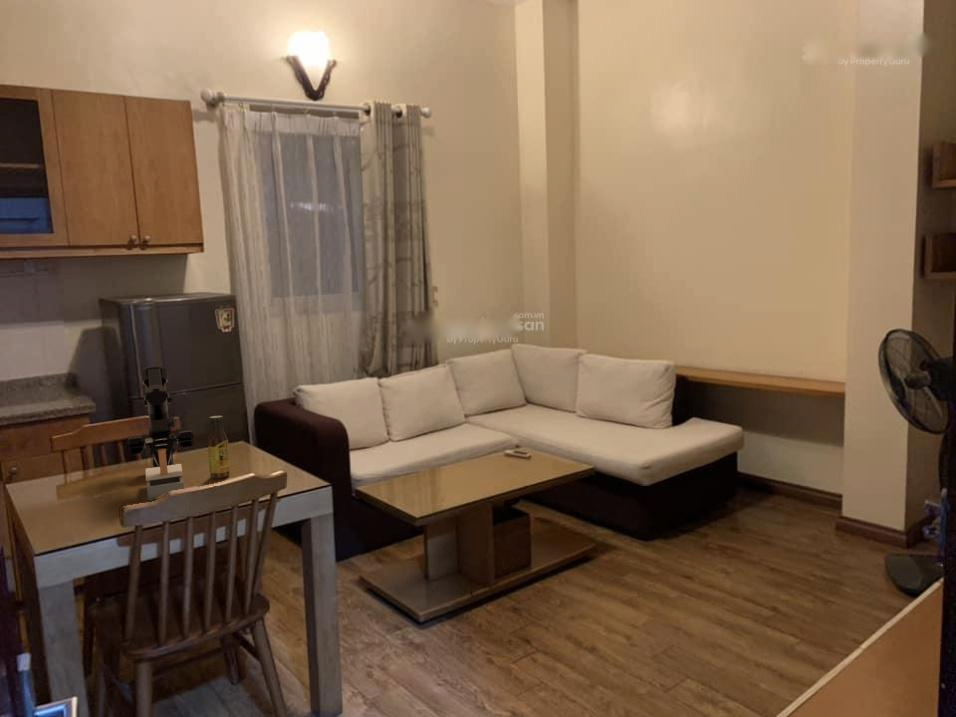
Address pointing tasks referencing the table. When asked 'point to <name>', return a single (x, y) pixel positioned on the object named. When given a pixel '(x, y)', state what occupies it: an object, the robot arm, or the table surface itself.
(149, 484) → the parts tub
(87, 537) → the table surface
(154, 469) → the lid
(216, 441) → the sauce bottle
